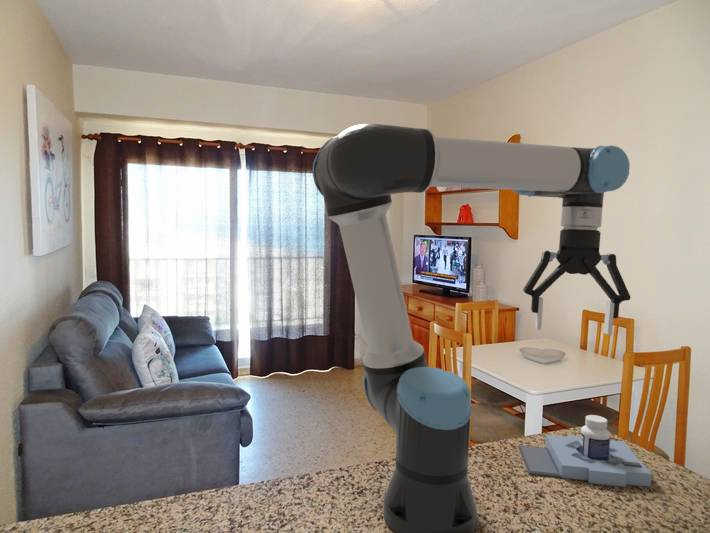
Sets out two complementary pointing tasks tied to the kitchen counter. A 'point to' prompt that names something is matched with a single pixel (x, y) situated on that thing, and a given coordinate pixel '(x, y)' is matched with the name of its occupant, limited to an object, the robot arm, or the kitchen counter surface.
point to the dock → (597, 463)
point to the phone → (538, 461)
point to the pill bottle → (595, 438)
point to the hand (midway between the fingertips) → (572, 331)
